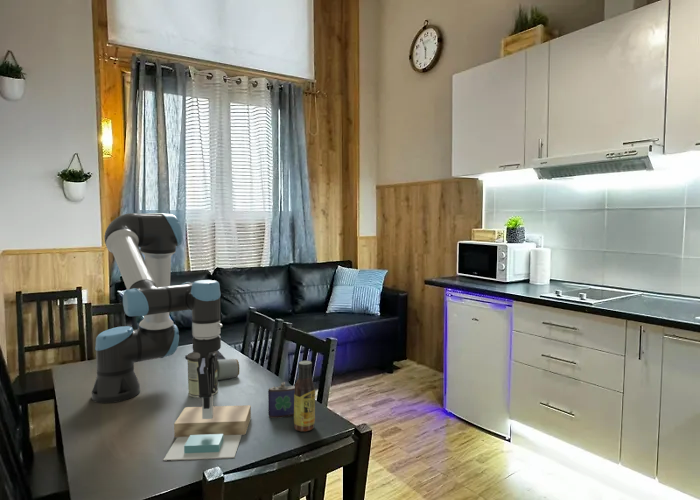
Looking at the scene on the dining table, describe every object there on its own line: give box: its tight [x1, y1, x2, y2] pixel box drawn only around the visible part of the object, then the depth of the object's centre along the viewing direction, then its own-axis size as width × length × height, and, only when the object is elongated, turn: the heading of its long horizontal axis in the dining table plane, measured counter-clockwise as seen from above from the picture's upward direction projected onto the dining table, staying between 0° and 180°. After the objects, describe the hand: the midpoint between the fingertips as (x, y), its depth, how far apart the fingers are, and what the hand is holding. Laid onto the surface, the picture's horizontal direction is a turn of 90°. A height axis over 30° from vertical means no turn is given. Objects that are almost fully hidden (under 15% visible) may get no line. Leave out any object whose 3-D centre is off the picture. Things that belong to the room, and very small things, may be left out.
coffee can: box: [186, 351, 219, 399], centre depth 159 cm, size 10×10×14 cm
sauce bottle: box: [293, 360, 316, 433], centre depth 132 cm, size 7×6×20 cm
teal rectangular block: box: [184, 434, 223, 453], centre depth 120 cm, size 9×6×2 cm, turn 95°
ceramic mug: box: [217, 358, 240, 381], centre depth 175 cm, size 11×8×8 cm
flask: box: [267, 381, 295, 419], centre depth 140 cm, size 9×3×11 cm, turn 103°
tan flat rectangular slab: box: [173, 404, 252, 438], centre depth 133 cm, size 20×11×4 cm, turn 95°
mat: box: [162, 435, 243, 462], centre depth 121 cm, size 18×12×1 cm, turn 95°
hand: (207, 417), depth 125 cm, fingers closed
